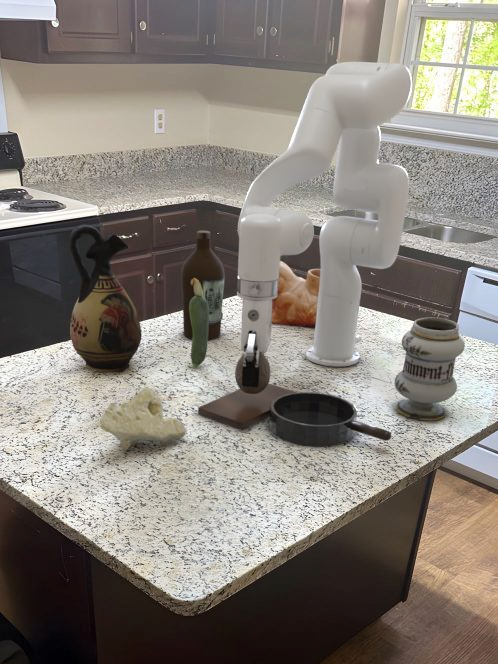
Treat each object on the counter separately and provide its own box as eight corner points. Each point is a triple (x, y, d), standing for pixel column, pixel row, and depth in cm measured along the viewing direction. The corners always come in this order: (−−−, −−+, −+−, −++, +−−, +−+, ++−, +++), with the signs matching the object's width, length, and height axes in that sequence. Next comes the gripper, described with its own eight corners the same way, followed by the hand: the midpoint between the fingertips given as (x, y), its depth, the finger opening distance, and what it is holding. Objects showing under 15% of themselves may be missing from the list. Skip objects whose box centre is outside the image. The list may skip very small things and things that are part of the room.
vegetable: (209, 365, 165) (211, 276, 155) (206, 371, 161) (208, 280, 151) (190, 364, 165) (190, 274, 155) (187, 370, 162) (187, 279, 151)
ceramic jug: (133, 352, 171) (129, 218, 155) (148, 375, 158) (145, 231, 143) (61, 358, 166) (49, 220, 150) (71, 381, 154) (58, 233, 138)
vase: (273, 387, 145) (276, 344, 140) (263, 399, 139) (266, 355, 135) (240, 382, 147) (242, 340, 142) (229, 393, 141) (231, 350, 136)
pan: (299, 404, 147) (301, 385, 145) (370, 426, 138) (372, 407, 136) (252, 428, 136) (253, 409, 134) (325, 454, 127) (327, 434, 125)
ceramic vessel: (259, 308, 206) (262, 254, 198) (351, 318, 201) (357, 262, 193) (248, 322, 195) (251, 265, 187) (345, 332, 189) (352, 274, 182)
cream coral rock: (170, 433, 138) (106, 386, 132) (193, 414, 133) (128, 364, 127) (150, 490, 128) (79, 443, 122) (173, 472, 123) (101, 421, 117)
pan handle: (351, 426, 133) (352, 417, 132) (392, 440, 128) (393, 430, 127) (346, 429, 131) (347, 420, 130) (387, 443, 127) (389, 434, 126)
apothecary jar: (385, 417, 143) (400, 327, 133) (395, 395, 152) (408, 311, 143) (448, 427, 139) (467, 336, 130) (453, 405, 149) (471, 318, 140)
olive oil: (172, 333, 184) (172, 230, 171) (203, 326, 190) (204, 226, 177) (200, 344, 178) (202, 237, 165) (231, 335, 184) (235, 232, 171)
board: (258, 386, 154) (258, 380, 154) (301, 400, 149) (301, 393, 148) (198, 414, 141) (198, 407, 140) (242, 430, 135) (242, 423, 134)
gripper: (273, 301, 125) (266, 397, 134) (281, 278, 139) (275, 366, 149) (230, 297, 126) (227, 393, 135) (243, 275, 140) (239, 363, 149)
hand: (252, 378), depth 142 cm, fingers closed on vase, 7 cm apart
